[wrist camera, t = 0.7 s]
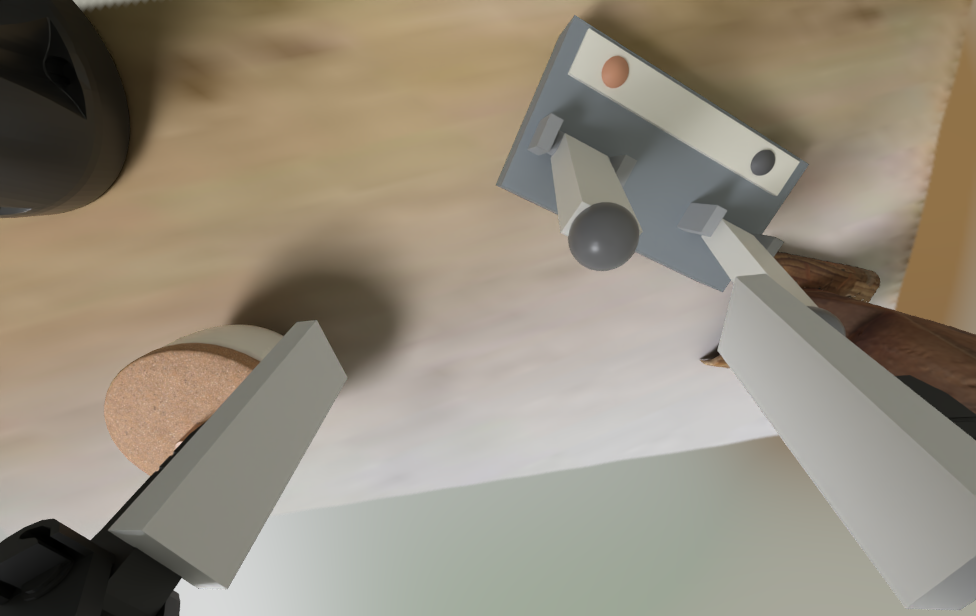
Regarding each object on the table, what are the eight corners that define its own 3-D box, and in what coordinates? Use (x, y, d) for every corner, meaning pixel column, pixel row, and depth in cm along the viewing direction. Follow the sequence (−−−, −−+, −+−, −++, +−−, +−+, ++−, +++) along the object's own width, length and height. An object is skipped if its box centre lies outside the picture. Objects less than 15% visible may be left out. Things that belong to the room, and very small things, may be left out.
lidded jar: (254, 275, 26) (153, 325, 17) (362, 368, 29) (324, 448, 21) (164, 362, 27) (29, 447, 19) (277, 440, 31) (208, 543, 22)
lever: (723, 252, 26) (818, 383, 17) (685, 233, 25) (766, 360, 17) (757, 222, 24) (882, 351, 16) (718, 201, 23) (827, 324, 15)
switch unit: (697, 281, 30) (750, 303, 24) (495, 185, 25) (507, 186, 20) (771, 166, 27) (849, 162, 22) (559, 35, 22) (592, -8, 17)
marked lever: (587, 183, 23) (622, 297, 15) (540, 158, 22) (548, 265, 14) (615, 143, 21) (672, 247, 13) (564, 115, 21) (591, 206, 12)
